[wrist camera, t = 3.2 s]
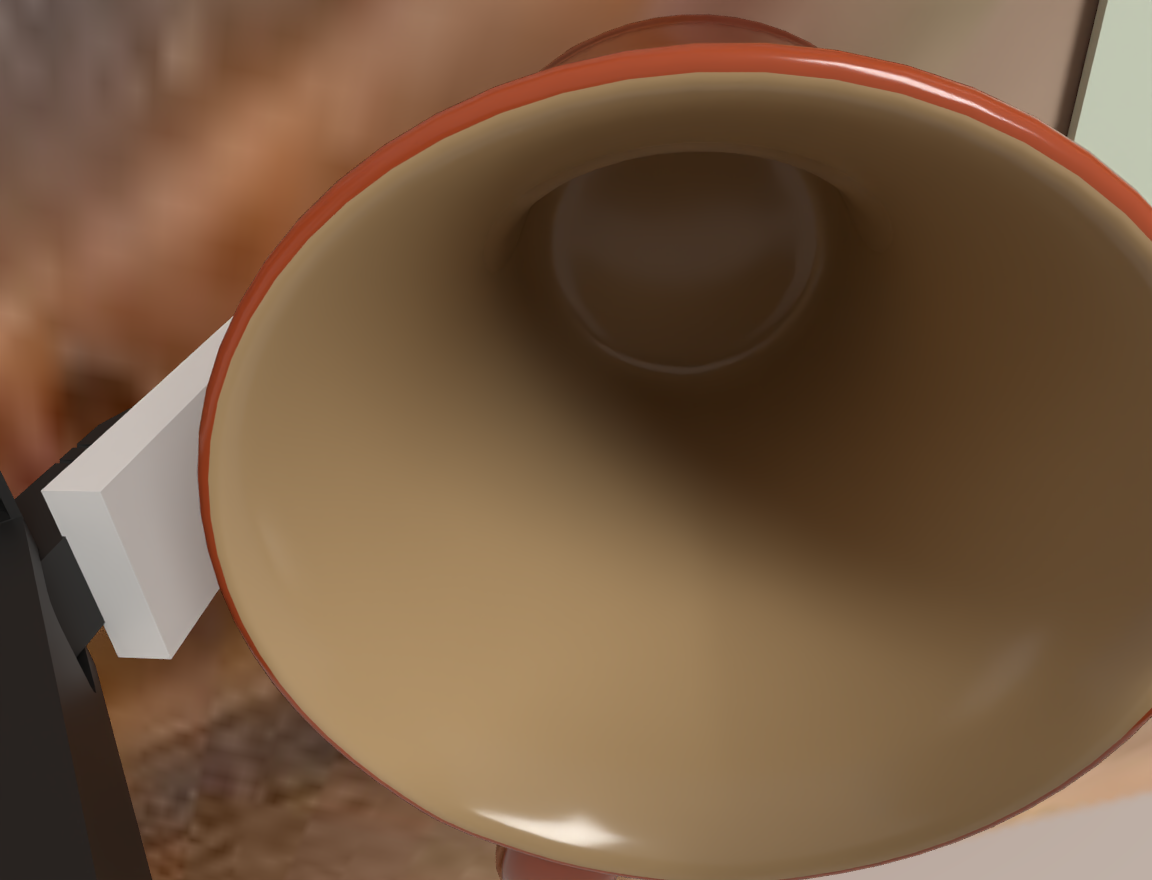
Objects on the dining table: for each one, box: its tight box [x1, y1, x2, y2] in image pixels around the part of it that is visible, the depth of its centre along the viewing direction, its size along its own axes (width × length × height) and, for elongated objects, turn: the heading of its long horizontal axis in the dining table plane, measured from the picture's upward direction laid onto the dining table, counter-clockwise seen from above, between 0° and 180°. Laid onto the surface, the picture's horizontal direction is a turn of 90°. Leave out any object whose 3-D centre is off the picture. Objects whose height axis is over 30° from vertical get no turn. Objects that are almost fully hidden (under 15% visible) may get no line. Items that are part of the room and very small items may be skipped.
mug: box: [197, 15, 1152, 880], centre depth 13 cm, size 12×9×10 cm
